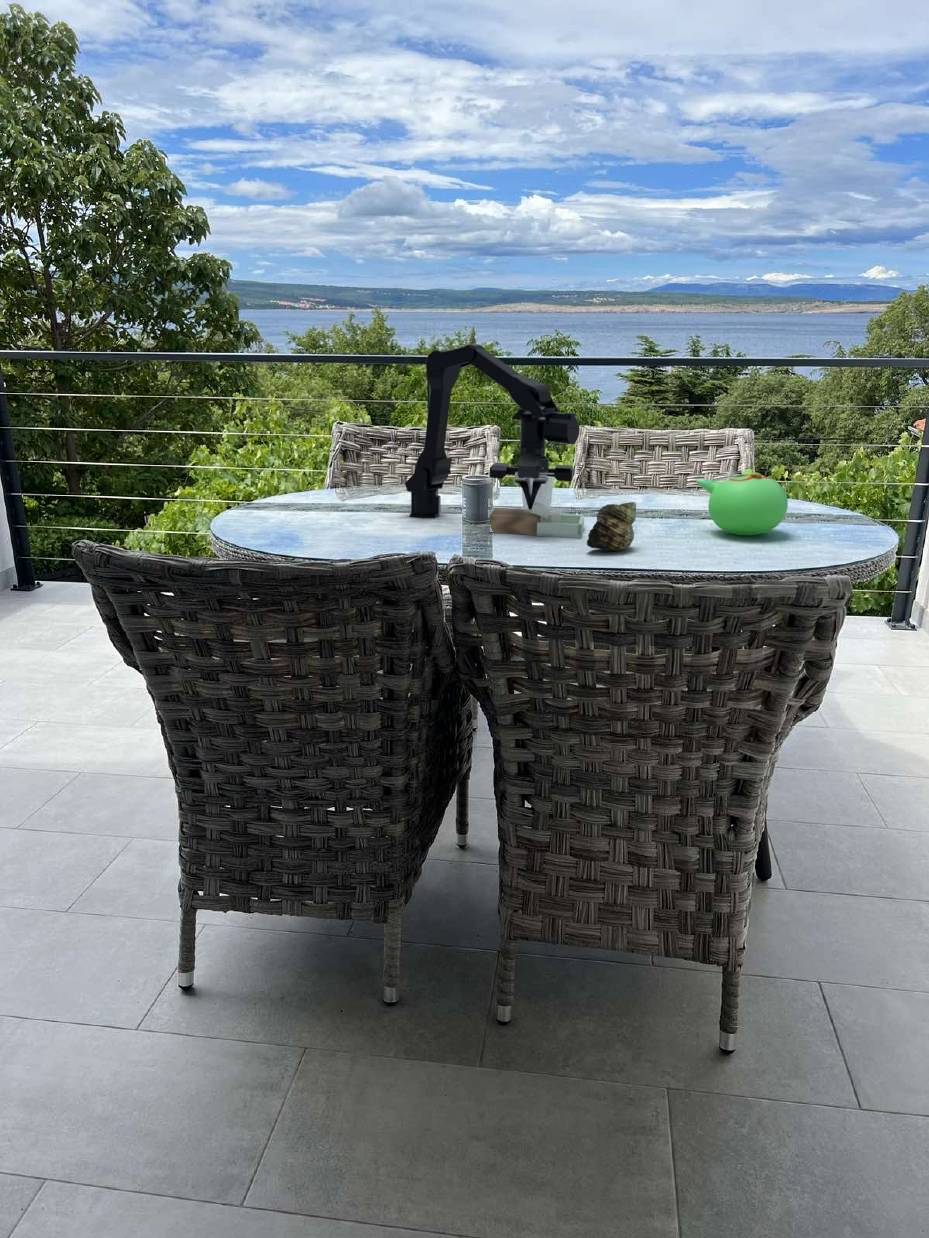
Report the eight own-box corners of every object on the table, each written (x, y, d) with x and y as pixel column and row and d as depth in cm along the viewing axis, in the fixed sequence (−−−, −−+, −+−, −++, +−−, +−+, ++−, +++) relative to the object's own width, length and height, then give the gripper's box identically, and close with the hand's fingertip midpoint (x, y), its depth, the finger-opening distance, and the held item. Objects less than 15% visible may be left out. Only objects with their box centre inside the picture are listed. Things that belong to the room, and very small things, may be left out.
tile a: (530, 512, 226) (533, 504, 225) (532, 509, 230) (535, 501, 229) (547, 518, 226) (550, 510, 225) (548, 515, 229) (551, 507, 229)
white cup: (550, 518, 243) (551, 477, 240) (518, 516, 244) (519, 476, 241) (554, 512, 250) (555, 472, 247) (523, 510, 252) (524, 471, 249)
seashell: (577, 544, 217) (580, 498, 214) (629, 543, 218) (631, 498, 215) (587, 555, 207) (590, 508, 204) (641, 555, 208) (644, 507, 205)
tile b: (551, 513, 225) (560, 513, 225) (552, 510, 229) (560, 510, 229) (550, 530, 226) (559, 530, 226) (551, 527, 230) (560, 527, 230)
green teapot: (738, 545, 217) (745, 478, 213) (688, 530, 231) (693, 467, 227) (799, 537, 225) (806, 473, 221) (747, 523, 239) (753, 463, 235)
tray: (536, 536, 224) (537, 522, 223) (541, 526, 234) (541, 513, 233) (581, 538, 222) (581, 525, 221) (583, 527, 232) (584, 515, 232)
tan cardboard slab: (489, 532, 226) (489, 515, 225) (494, 524, 235) (494, 508, 234) (537, 535, 225) (537, 517, 223) (540, 526, 233) (541, 510, 232)
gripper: (486, 444, 217) (485, 514, 222) (571, 447, 214) (568, 518, 219) (493, 437, 227) (492, 505, 232) (575, 440, 224) (572, 508, 229)
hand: (530, 509), depth 228 cm, fingers closed
